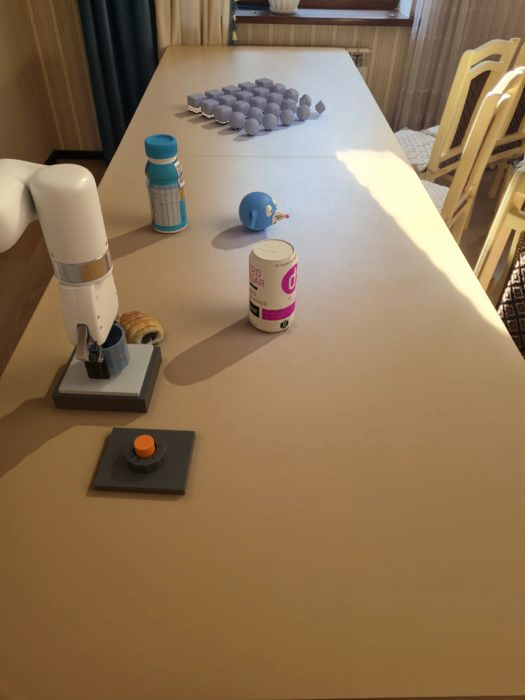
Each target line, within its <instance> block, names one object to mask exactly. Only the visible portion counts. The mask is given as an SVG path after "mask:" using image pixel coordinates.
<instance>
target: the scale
mask: <svg viewBox="0 0 525 700" xmlns="http://www.w3.org/2000/svg"><path fill="white" fill-rule="evenodd" d="M127 346H128V351H129V355H130V360H129V363H128V365H127V366H126V367H125V368H124V369H123V370H122V371H120V372H118V373H116V374H113V375H111V376H110V379H91V378H89V377H88V373H87V370H86V369H85V366H84V362H83V361H80V360H77V359H76V348H77V345H74V348H73V350H72V352H71V354H70V356H69V358H68V361H67V362H66V364H65V367H64V368H63V371H62V373H61V375H60V378H59V379H58V381H57V383H56V385H55V387H54V390H53V392H52V394H51V398H52V400H53V404H54V405H55V406H54V407H55V408H56V409H57V410H74V411H75V410H77V411H94V412H120V413H139V414H142V413H144V414H148V412H149V408H150V405H151V402H152V398H153V394H154V391H155V388H156V387H155V386H156V384H157V379H158V376H159V373H160V369H161V366H162V362H163V356H162V349H161V346H154V344H152V345H143V344H128V343H127Z"/></svg>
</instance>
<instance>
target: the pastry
mask: <svg viewBox="0 0 525 700" xmlns="http://www.w3.org/2000/svg"><path fill="white" fill-rule="evenodd" d="M118 323H119V324H120V326H121V327H122V328H123V329H124V332H125V336H126V341H127V344H143V345H154V344H158V343H159V342H161V341H162V340H163V338H164V336H165V330H164V328H163V327H162V325H161V323H160V322H159V321H157V320H156V318H154V317H153V316H150V315H148V314H145V313H144V312H142V311H138V310H133V311H128V312H125V313H122V314H121V316H119V322H118Z"/></svg>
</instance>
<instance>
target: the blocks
mask: <svg viewBox="0 0 525 700" xmlns="http://www.w3.org/2000/svg"><path fill="white" fill-rule="evenodd" d="M186 100H187V101H186V102H187V106H188V105H190V106H192V107H194V108H199V107H201V111H202V112H204V113H205V114H207V115H213V114H214V117H210V118H208V117H205V119H208V120H211V119H214V118H215V119H216V120H218V121H220V122H226V123H220V122H217V121H215V122H216V123H218V124H220V125H227V124H229V126H230V128H232V127H233V128H232V129H234V130H236V131H237V130H238V131H239V130H241V129H243V130H244V132H245V133H246V134H247V135H248V136H255V135H257V134H258V133H259V131H260V128H261V126H260V123H259V122H261V124H262V126H263V128H264V129H265V130H267V131H273V130H274V129H276V128H277V126H278V118H279V120H280V123H281V124H283V125H285V126H289V125H291V124H292V123H294V120H295V114H296V117H297V118H298V119H299V120H302V121H305V120H308V119H309V118H310V116H311V108H310V107H311V106H312V101H313V100H312V98H311V97H310V95H309V94H307V93H304V94H302V96H301V97H299V91H298V90H297V89H295V88H292V87H291V88H287V89H286V85H285V84H283V83H279V82H275V83H274V80H272V79H270V78H267V77H263V78H258V79H255V80H254V83H253V82H251V81H245V82H244V81H243V82H239V83H237V86H236V85H232V84H231V85H227V86H223V87H221V90H220V89H217V88H215V89H214V88H213V89H209V90H205V91H204V94H202V93H200V92H196V93H192V94H187V95H186ZM297 104H298V106H297ZM326 108H327V107H326V105H325V103H324V102H323V100H322V99H321V100H319V101H318V103H316V104H315V106H314V110H315V111H316V113H317V114H318V115H319V116H320V115H322V114H323V113H324V112H325V111H326V110H327V109H326ZM263 112H264V113H263ZM245 116H247V117H245ZM215 119H214V120H215ZM227 121H229V122H227ZM242 127H243V128H242ZM235 128H239V129H235ZM269 129H270V130H269ZM249 134H250V135H249Z"/></svg>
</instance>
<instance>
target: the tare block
mask: <svg viewBox="0 0 525 700" xmlns="http://www.w3.org/2000/svg"><path fill="white" fill-rule="evenodd" d="M141 435H149V436H151V437H152V438H153V441H154V446H155V451H154V453H153V454H152V455H151V456H150V457H147V458H141V457H139V456H138V455H137V454H136V451H135V447H134V441H135V439H136V438H137V437H139V436H141ZM196 438H197V437H196V430H181V429H180V430H178V429H161V428H159V429H158V428H138V427H117V426H113V427H112V430H111V433H110V436H109V438H108V442H107V444H106V448H105V450H104V453H103V456H102V459H101V461H100V465H99V469H98V470H97V474H96V477H95V480H94V483H93V488H94V490H95V491H100V492H101V491H102V492H119V493H120V492H122V493H139V494H140V493H142V494H158V495H159V494H161V495H179V496H181V495H182V496H185V495H186V491H187V487H188V481H189V475H190V470H191V464H192V458H193V454H194V449H195V442H196Z"/></svg>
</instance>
